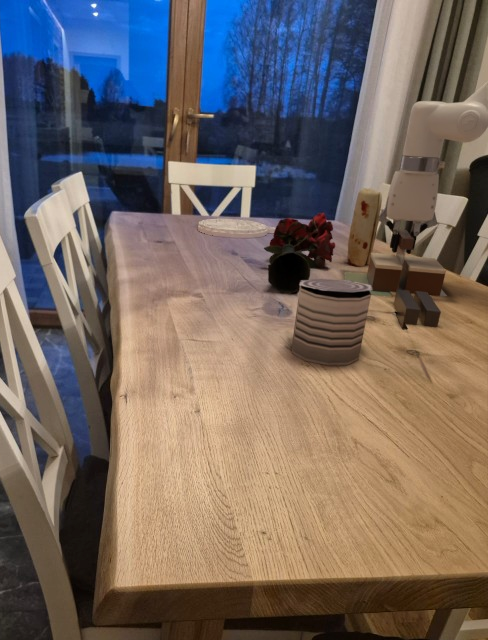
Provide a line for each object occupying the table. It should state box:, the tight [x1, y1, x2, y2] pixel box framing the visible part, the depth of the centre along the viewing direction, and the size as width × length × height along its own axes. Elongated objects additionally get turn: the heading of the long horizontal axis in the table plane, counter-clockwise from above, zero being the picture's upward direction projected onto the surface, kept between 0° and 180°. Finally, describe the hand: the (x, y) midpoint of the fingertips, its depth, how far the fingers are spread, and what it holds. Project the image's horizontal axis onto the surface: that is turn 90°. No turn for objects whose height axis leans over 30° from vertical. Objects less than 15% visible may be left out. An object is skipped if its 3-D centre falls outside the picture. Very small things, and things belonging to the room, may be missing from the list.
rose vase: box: [263, 212, 336, 294], centre depth 140 cm, size 16×18×35 cm
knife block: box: [393, 289, 442, 330], centre depth 114 cm, size 14×6×4 cm, turn 169°
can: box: [291, 278, 373, 367], centre depth 93 cm, size 11×11×12 cm
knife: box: [395, 229, 414, 287], centre depth 132 cm, size 12×2×11 cm, turn 169°
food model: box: [347, 187, 383, 267], centre depth 151 cm, size 10×7×20 cm
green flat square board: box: [343, 271, 448, 298], centre depth 135 cm, size 22×20×1 cm
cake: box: [399, 255, 447, 297], centre depth 133 cm, size 8×13×6 cm, turn 169°
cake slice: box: [366, 252, 402, 293], centre depth 134 cm, size 6×13×6 cm, turn 169°
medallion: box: [197, 218, 276, 239], centre depth 194 cm, size 24×27×2 cm
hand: (401, 251), depth 131 cm, fingers closed on knife, 2 cm apart
